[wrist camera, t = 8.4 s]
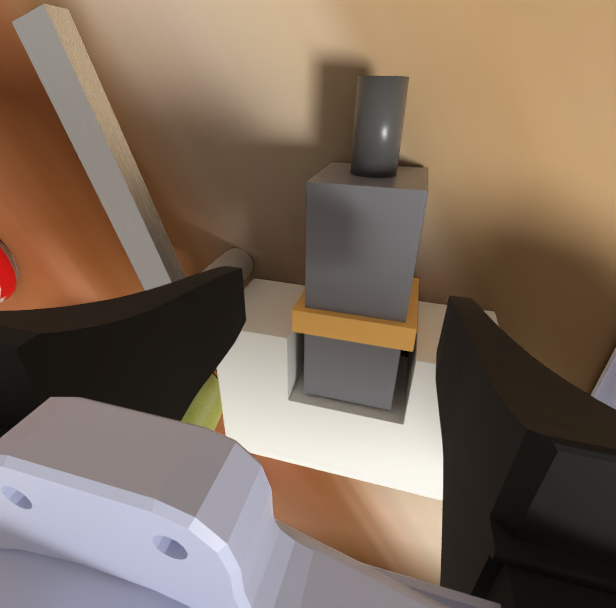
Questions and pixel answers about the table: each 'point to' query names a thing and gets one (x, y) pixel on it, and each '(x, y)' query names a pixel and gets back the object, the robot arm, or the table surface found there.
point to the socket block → (327, 411)
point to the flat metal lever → (98, 140)
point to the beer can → (7, 273)
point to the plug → (362, 256)
